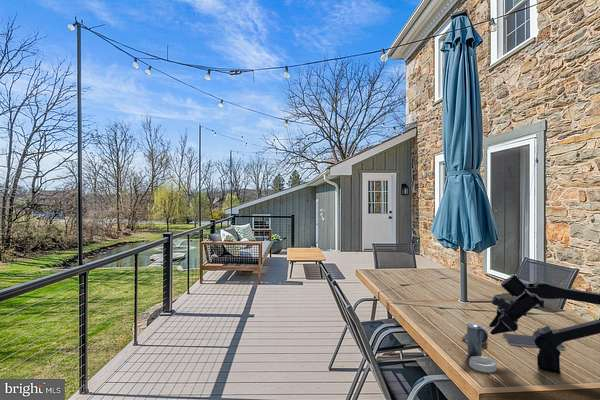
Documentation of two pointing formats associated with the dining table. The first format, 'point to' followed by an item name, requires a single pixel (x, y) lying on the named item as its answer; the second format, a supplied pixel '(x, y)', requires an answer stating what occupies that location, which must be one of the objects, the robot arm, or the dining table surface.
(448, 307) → the dining table surface
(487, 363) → the collar
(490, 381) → the dining table surface
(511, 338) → the notebook
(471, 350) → the canister
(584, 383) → the dining table surface
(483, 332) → the ceramic mug
